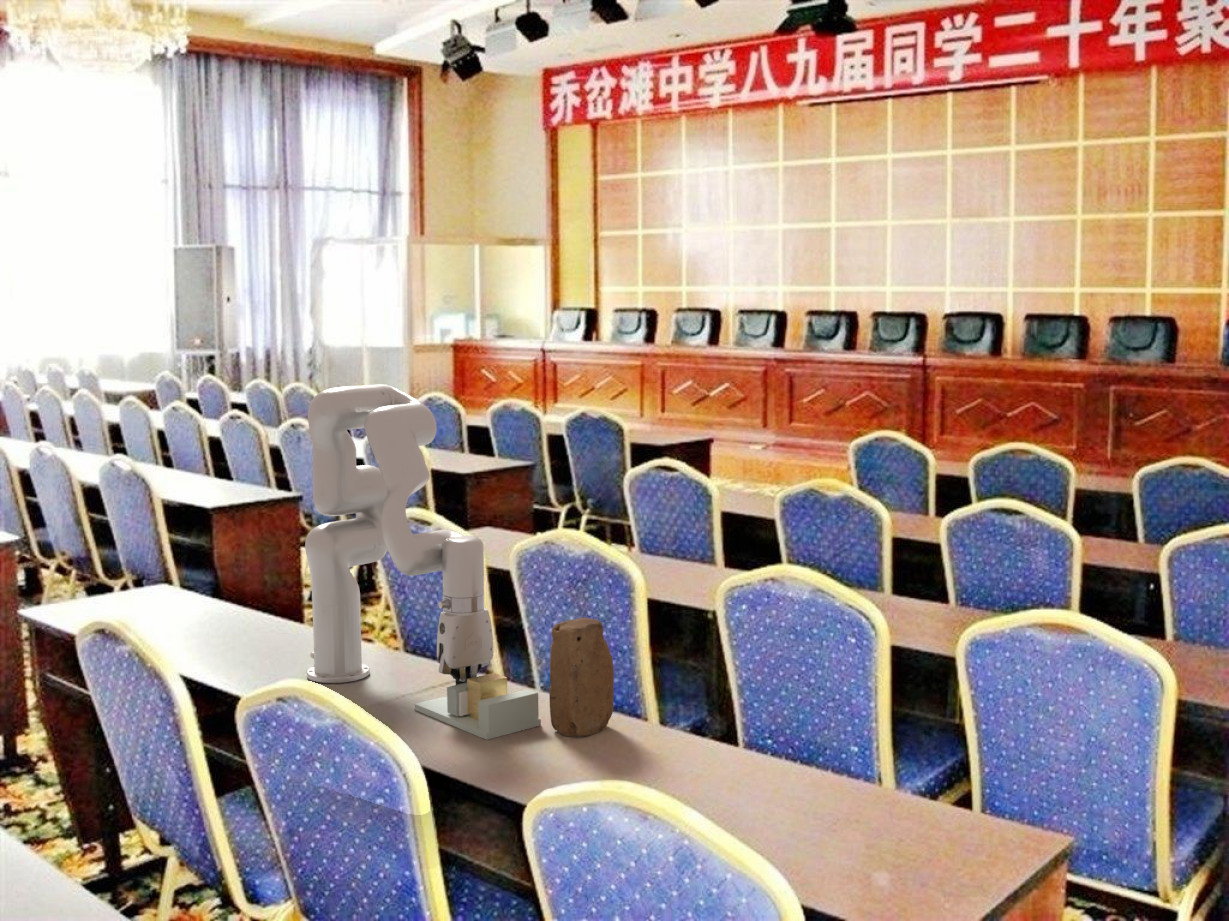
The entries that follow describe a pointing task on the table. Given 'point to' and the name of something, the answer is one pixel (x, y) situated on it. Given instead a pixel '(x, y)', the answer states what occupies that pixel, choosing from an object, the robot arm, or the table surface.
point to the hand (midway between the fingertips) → (464, 700)
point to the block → (580, 678)
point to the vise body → (490, 714)
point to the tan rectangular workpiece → (484, 691)
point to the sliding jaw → (457, 699)
